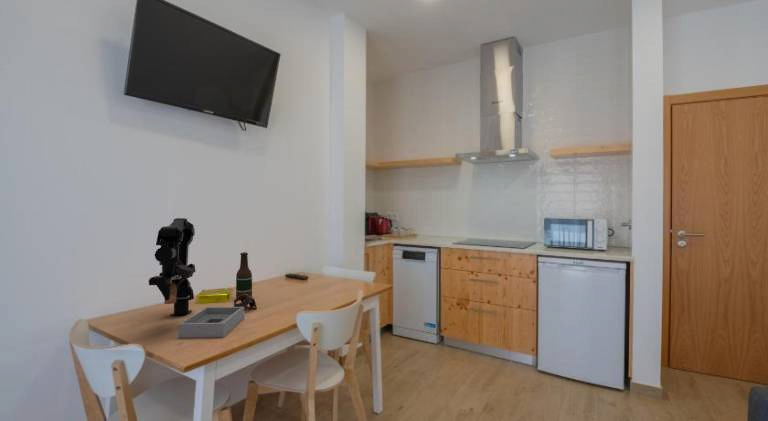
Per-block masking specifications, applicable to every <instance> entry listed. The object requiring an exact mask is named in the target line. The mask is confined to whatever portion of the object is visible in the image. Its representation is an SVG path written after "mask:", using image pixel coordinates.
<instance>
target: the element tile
mask: <svg viewBox="0 0 768 421" xmlns="http://www.w3.org/2000/svg"><path fill="white" fill-rule="evenodd" d="M233 294H234V293H233V288H232V287H223V288H221V287H220V288H205V289H204V288H203V289H202V290H201V291H200V292H199V293H198V294H197V295H196V304H197V303H198V304H200V305H201V304H217V303H219V304H220V303H228V302H230V301H231V299H232V298H233V296H232V295H233Z"/></svg>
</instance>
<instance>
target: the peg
mask: <svg viewBox="0 0 768 421" xmlns="http://www.w3.org/2000/svg"><path fill="white" fill-rule="evenodd" d="M174 303H176V284H173V285H172V286H171V290H170V298H169V300H165V299H164V304H165V305H172V304H173V305H174Z"/></svg>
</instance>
